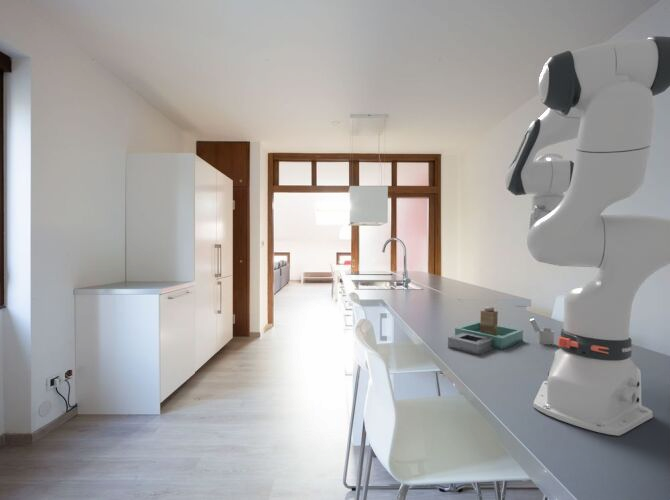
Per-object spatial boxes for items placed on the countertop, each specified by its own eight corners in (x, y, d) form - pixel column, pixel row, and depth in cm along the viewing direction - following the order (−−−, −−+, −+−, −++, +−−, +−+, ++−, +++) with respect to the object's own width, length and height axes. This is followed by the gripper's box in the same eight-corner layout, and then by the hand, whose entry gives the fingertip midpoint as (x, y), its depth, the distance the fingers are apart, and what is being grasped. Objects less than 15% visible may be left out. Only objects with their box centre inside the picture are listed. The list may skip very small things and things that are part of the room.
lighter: (552, 343, 116) (553, 319, 116) (553, 344, 114) (554, 320, 114) (528, 341, 118) (529, 317, 118) (529, 342, 117) (530, 318, 117)
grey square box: (478, 354, 103) (478, 344, 103) (447, 346, 110) (448, 337, 110) (494, 348, 109) (494, 338, 109) (464, 341, 117) (464, 332, 117)
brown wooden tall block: (491, 339, 117) (492, 309, 117) (480, 336, 120) (480, 307, 120) (497, 337, 119) (497, 307, 119) (485, 334, 122) (486, 305, 122)
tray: (501, 349, 108) (502, 338, 108) (454, 338, 120) (455, 328, 120) (522, 340, 119) (523, 330, 119) (477, 331, 131) (477, 321, 131)
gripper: (547, 203, 102) (545, 250, 102) (568, 209, 115) (567, 251, 116) (524, 204, 107) (523, 250, 107) (547, 210, 120) (546, 250, 120)
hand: (546, 250), depth 111 cm, fingers open, 8 cm apart
